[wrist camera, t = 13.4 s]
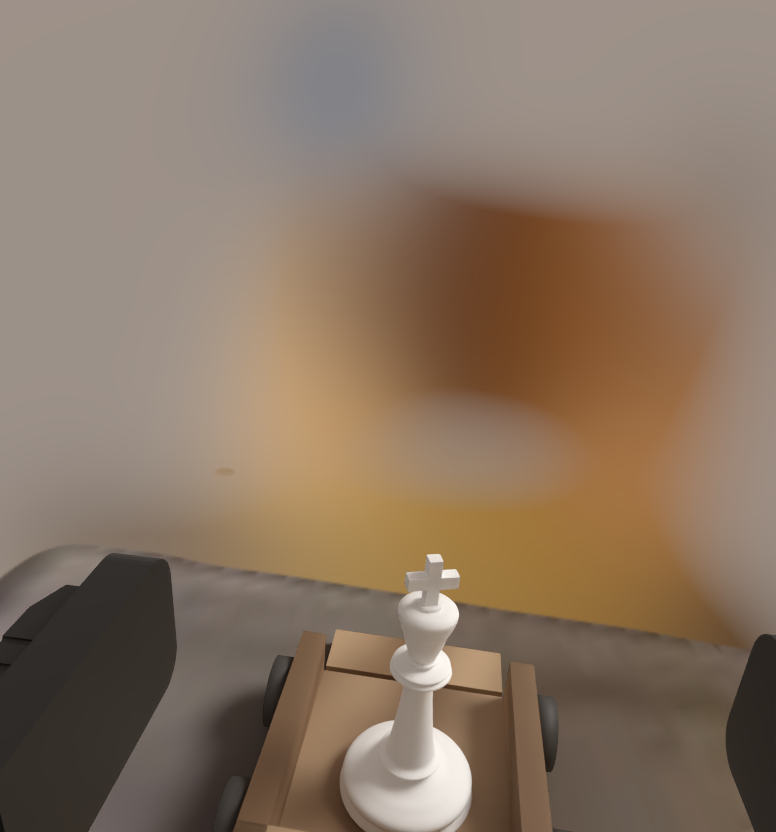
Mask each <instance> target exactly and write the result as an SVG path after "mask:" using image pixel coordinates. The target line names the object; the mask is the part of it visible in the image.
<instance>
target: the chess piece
mask: <svg viewBox="0 0 776 832" xmlns="http://www.w3.org/2000/svg"><path fill="white" fill-rule="evenodd" d="M459 581H460V576H459V574H458V572H457V570H456V569H453V570H443V559H442V557H441V556H440V554H431V555H427V557H426V565H425V571H419V572H406V578H405V585H406V588H407V590H408V592H412V593H409V594H407V595H406V596H404V597H403V598H402V599H401V601H400V602H399V605H398V617H399V621H400V624H401V627H402V629H403V633H404V639H405V643H406V644H405V645H403V646H401V647H399V648H398V649H397V650H396V651H395V653H394V654H393V656H392V658H391V661H390V671H391V674H392V676H393V677H394V679H395V680H396V681H397V682H398V683H399V684H401V685H402V686H403V690H402V695H401V699H400V702H399V706H398V710H397V713H396V716H395V720H392V721H386V722H382V723H379V724H377V725H374V726H372V727H370V728H368V729H367V730H365V731H364V732H362V733H361V734H360V735H359V736H358V737H357V738H356V739H355V740H354V741H353V742H352V744H351V745H350V747H349V749H348V751H347V753H346V755H345V758H344V762H343V766H342V769H341V773H340V793H341V797H342V801H343V803H344V806H345V808H346V810H347V812H348V813H349V815H350V816H351V818H352V819H353V820H354V821H355V823H356V824H357V825H358V826H359V827H360V828H361V829H363V830H364V831H365V832H455V831H456V830H457V829H458V828H459V827H460V826H461V825H462V823H463V822H464V820H465V819H466V817H467V815H468V812H469V809H470V806H471V800H472V778H471V771H470V767H469V764H468V762H467V760H466V758H465V756H464V754H463V752H462V751H461V749H460V748H459V747H458V746H457V744H456V743H455V742H454V741H453V740H452V739H451V738H449V737H448V736H447V735H446V734H444V733H443V732H441V731H440V730H438V729H436V728H434V727H433V691H436V690H438V689H441V688H442V687H444V686H445V685H446V684H447V683H448V682H449V681H450V679H451V676H452V668H451V663H450V660H449V658H448V656H447V655H446V654H445V653H444V652H443V651H442V648H443V647H444V644H445V642H446V640H447V638H448V637H449V635H450V634H451V633H452V631H453V630H454V628H455V626H456V624H457V622H458V618H459V612H458V609H457V607H456V605H455V604H454V602H453V601H452V600H450V599H449V598H448V597H446V596H445V595H443V594H440V593H439V592H440V590H442V589H458V588H459ZM413 591H415V592H413Z"/></svg>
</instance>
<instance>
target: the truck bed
mask: <svg viewBox="0 0 776 832" xmlns="http://www.w3.org/2000/svg"><path fill="white" fill-rule="evenodd" d="M325 644H326V634H321V633H315V632H308V631H303V634H302V637H301V640H300V643H299V645H298V648H297V651H296V654H295V657H288V656H282V655H278V656H277V657H276V659H275V661H274V663H273V666H272V669H271V672H270V675H269V679H268V683H267V688H266V693H265V699H264V707H263V724H264V726H266V727H270V728H269V730H268V733H267V736H266V739H265V742H264V745H263V747H262V750H261V753H260V756H259V759H258V762H257V764H256V767H255V770H254V773H253V776H252V778H248V777H242V776H236V775H233V776H232V777H231V778H230V779H229V781H228V783H227V785H226V787H225V789H224V792H223V794H222V797H221V800H220V803H219V806H218V810H217V813H216V817H215V821H214V825H213V830H212V832H365V831H364V830H363V829H361V828H360V827H359V826H358V825H357V824H356V823H355V821H354V820H353V819H352V818H351V816H350V815H349V813H348V812H347V810H346V808H345V806H344V803H343V801H342V797H341V793H340V773H341V769H342V766H343V762H344V758H345V755H346V753H347V751H348V749H349V747H350V745H351V744H352V742H353V741H354V740H355V739H356V738H357V737H358V736H359V735H360V734H361V733H362V732H364V731H365V730H367V729H368V728H370V727H372V726H374V725H377V724H379V723H382V722H386V721H392V720H395V716H396V713H397V710H398V706H399V702H400V699H401V695H402V690H403V686H402V685H401V684H399V683H398V682H397V681H396V680H395V679H394V677H393V676H392V674H391V671H390V661H391V658H392V656H393V654H394V653H395V651H396V650H397V649H398V648H399V647H401V646H403V645H405V644H406V643H405V640H404V639H398V638H391V637H384V636H377V635H371V634H364V633H357V632H350V631H344V630H337V629H336V632H335V636H334V639H333V643H332V646H331V650H330V653H329V657H328V660H327V664H326V670H324V661H325ZM442 651H443V652H444V653H445V654H446V655H447V656H448V658H449V660H450V663H451V668H452V676H451V679H450V681H449V682H448V683H447V684H446V685H445V686H444V687H442V688H441V689H438V690H436V691H433V727H434V728H436V729H438V730H440V731H441V732H443V733H444V734H446V735H447V736H448V737H449V738H451V739H452V740H453V741H454V742H455V743H456V744H457V746H458V747H459V748H460V749H461V751H462V752H463V754H464V756H465V758H466V760H467V762H468V764H469V767H470V771H471V778H472V800H471V806H470V809H469V812H468V815H467V817H466V819H465V820H464V822H463V823H462V825H461V826H460V827H459V828H458V829H457V830H456V831H455V832H571V831H565V830H559V829H554V828H552V821H551V812H550V804H549V795H548V786H547V777H546V772H551V771H552V769H553V767H554V764H555V759H556V753H557V745H558V710H557V704H556V700H555V698H554V697H551V696H545V695H538V694H537V689H536V680H535V672H534V665H530V664H523V663H516V662H510V665H509V670H508V676H507V681H506V686H505V691H504V696H503V697H501V696H502V678H501V658H500V654H499V653H492V652H485V651H479V650H472V649H465V648H458V647H452V646H445V645H444V647H443V648H442Z"/></svg>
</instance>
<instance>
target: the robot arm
mask: <svg viewBox="0 0 776 832" xmlns="http://www.w3.org/2000/svg"><path fill="white" fill-rule="evenodd" d="M176 651H177V642H176V630H175V618H174V607H173V595H172V583H171V573H170V568H169V565H168V563H167V561H166V560H164V559H159V558H151V557H142V556H134V555H126V554H118V553H111V554H109V555H107V556H106V557H105V558H104V559H103V560H102V561H101V562H100V563H99V564H98V566H97V567H96V568H95V569H94V570H93V571H92V573H91V574H90V575H89V576H88V577H87V578H86V579H85V581H84V582H83V583H82V584H81V585H80V586H72V585H65V586H63V587H62V588H60V589H58V590H57V591H55V592H54V593H52V594H50V595H49V596H47V597H45V598H44V599H42V600H40V601H39V602H37V603H35V604H34V605H32V606H30V607H29V608H28V609H27V610H26V611H25V612H24V613H23V615H22V616H21V617H20V618H19V619H18V620H17V621H16V622H15V623H14V624H13V625H12V626H11V627H10V628H9V630H8V631H7V632H6V633H5V634H4V635H3V638H2V641H1V642H0V832H88V831H89V829H90V827H91V825H92V824H93V822H94V820H95V818H96V816H97V815H98V813H99V811H100V809H101V807H102V806H103V804H104V802H105V800H106V798H107V796H108V795H109V793H110V791H111V789H112V787H113V786H114V784H115V782H116V780H117V778H118V777H119V775H120V773H121V771H122V769H123V768H124V766H125V764H126V762H127V760H128V758H129V757H130V755H131V753H132V751H133V749H134V748H135V746H136V744H137V742H138V740H139V739H140V737H141V735H142V733H143V731H144V730H145V728H146V726H147V724H148V722H149V721H150V719H151V717H152V715H153V713H154V711H155V710H156V708H157V706H158V704H159V702H160V701H161V699H162V697H163V695H164V693H165V691H166V689H167V687H168V685H169V683H170V680H171V677H172V673H173V670H174V665H175V660H176ZM726 751H727V758H728V763H729V767H730V770H731V773H732V776H733V778H734V781H735V783H736V786H737V788H738V791H739V793H740V796H741V798H742V801H743V803H744V806H745V808H746V811H747V813H748V816H749V818H750V821H751V823H752V826H753V829H754V831H755V832H776V635H770V634H763V635H761V636H760V637H758V639H757V640H756V641H755V643H754V645H753V648H752V650H751V653H750V656H749V659H748V662H747V665H746V668H745V671H744V674H743V677H742V680H741V682H740V685H739V688H738V691H737V694H736V697H735V700H734V703H733V706H732V709H731V712H730V715H729V718H728V721H727V727H726Z"/></svg>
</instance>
